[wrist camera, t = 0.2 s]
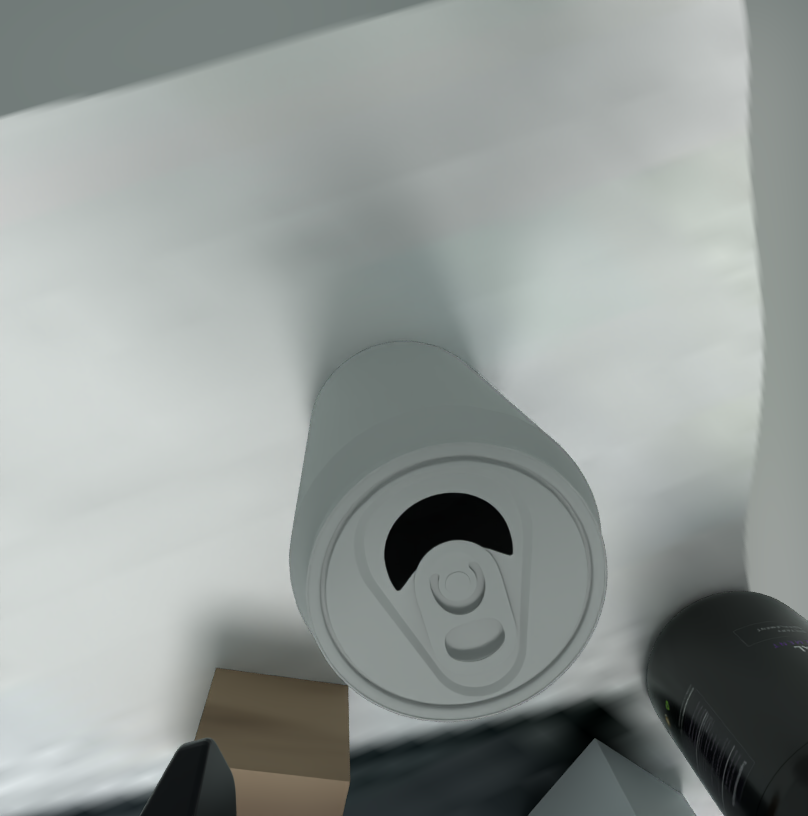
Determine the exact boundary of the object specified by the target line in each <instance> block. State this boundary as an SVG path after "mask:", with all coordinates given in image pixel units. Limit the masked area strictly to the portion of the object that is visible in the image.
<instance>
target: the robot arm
mask: <svg viewBox="0 0 808 816" xmlns="http://www.w3.org/2000/svg"><path fill="white" fill-rule="evenodd" d="M140 816H237V812H236V790H235V782H234V778H233V774H232V772H231V770H230V768H229V766H228V764H227V762H226V760H225V759H224V757H223V755H222V753H221V751H220V749H219V747H218V745H217V744H216V742H215V741H214V740H213V739H212V738H203V739H199V740H196V741H192V742H188V743H185V744H183V745H182V746H180V747H179V749H178V750H177V751H176V753H175V754H174V756H173V758H172V760H171V761H170V763H169V765H168V767H167V768H166V770H165V772H164V774H163V775H162V777H161V779H160V781H159V782H158V784H157V786H156V788H155V789H154V791H153V793H152V795H151V797H150V798H149V800H148V802H147V804H146V805H145V807H144V809H143V811H142V812H141V814H140Z"/></svg>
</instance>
